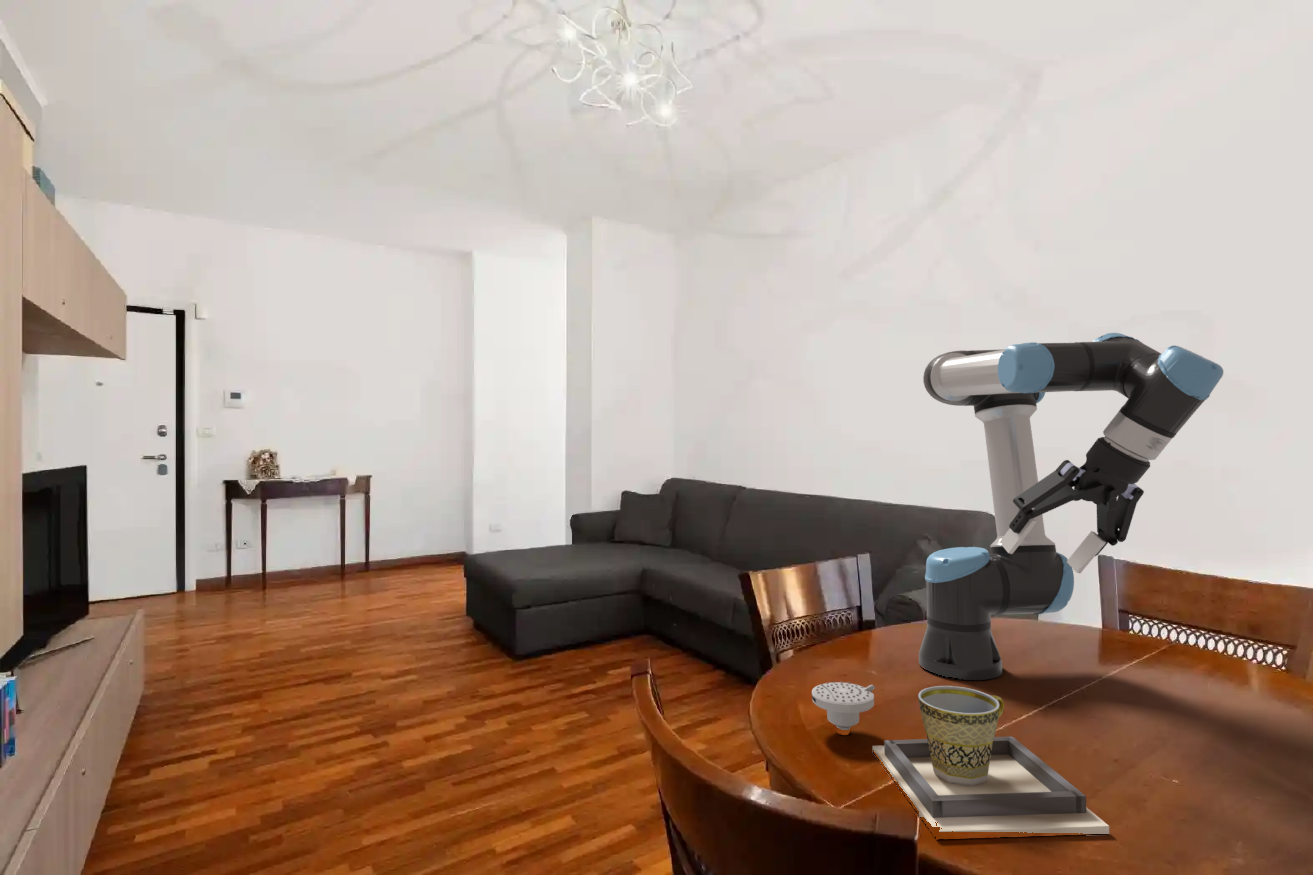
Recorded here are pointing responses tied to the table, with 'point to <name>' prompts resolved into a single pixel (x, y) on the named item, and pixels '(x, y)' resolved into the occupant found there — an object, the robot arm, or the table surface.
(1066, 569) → the robot arm
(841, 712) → the showerhead
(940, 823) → the square frame board
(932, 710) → the ceramic cup
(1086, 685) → the table surface
